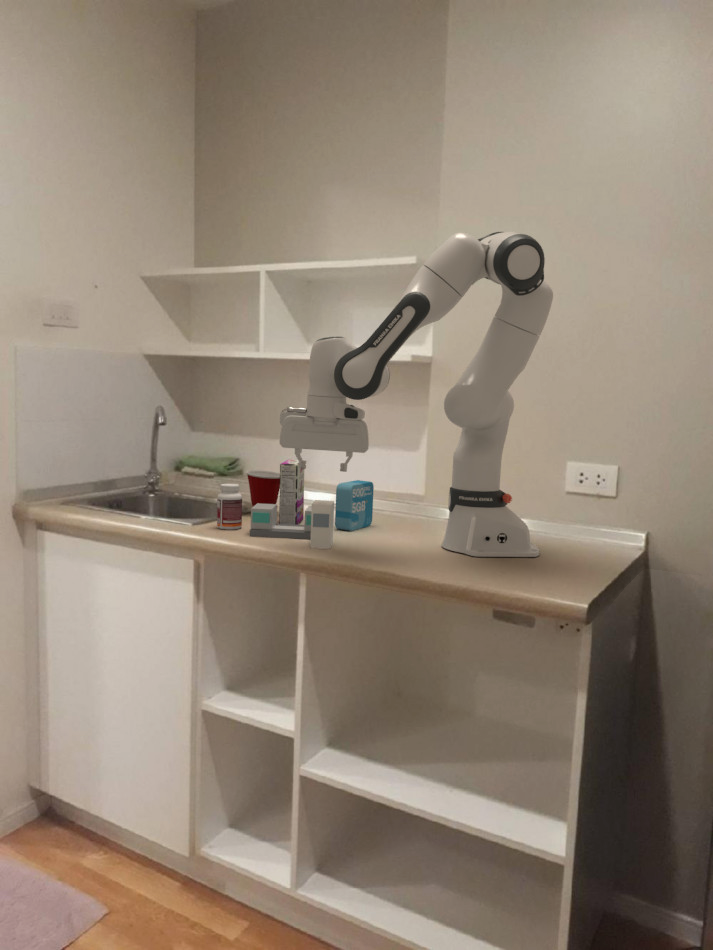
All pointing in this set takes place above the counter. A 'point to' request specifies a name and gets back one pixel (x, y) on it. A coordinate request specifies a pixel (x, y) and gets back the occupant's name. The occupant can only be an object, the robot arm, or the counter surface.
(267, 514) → the teal-tagged twin block base
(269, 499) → the plastic cup
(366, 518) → the data package
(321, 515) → the module block
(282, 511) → the candy bar box
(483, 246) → the robot arm
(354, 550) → the counter surface
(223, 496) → the pill bottle
